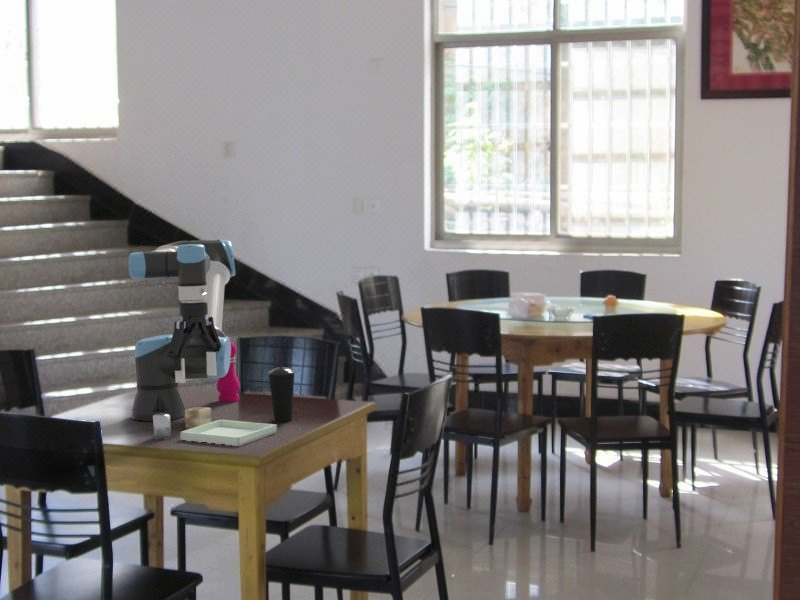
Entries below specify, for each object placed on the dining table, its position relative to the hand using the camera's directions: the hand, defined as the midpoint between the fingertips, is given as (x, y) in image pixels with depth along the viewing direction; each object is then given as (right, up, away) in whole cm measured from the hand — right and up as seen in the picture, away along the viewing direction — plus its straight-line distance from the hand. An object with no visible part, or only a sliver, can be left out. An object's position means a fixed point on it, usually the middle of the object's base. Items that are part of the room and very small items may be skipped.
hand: (196, 379), depth 297 cm
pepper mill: (+3, -10, +40) cm, 41 cm away
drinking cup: (+23, -12, +8) cm, 27 cm away
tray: (+11, -14, -13) cm, 22 cm away
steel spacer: (-7, -15, -12) cm, 20 cm away
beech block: (0, -13, +2) cm, 13 cm away
